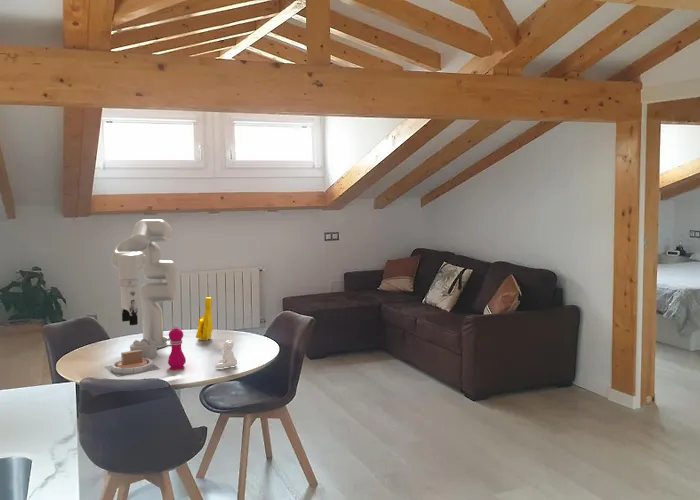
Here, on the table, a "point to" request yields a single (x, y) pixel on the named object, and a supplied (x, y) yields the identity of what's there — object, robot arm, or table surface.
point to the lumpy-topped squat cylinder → (145, 347)
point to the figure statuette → (205, 322)
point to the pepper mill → (176, 350)
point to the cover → (131, 359)
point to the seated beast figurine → (227, 356)
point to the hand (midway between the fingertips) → (129, 322)
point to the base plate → (129, 371)
